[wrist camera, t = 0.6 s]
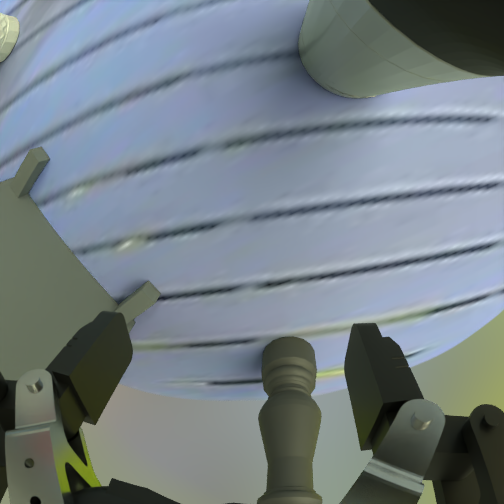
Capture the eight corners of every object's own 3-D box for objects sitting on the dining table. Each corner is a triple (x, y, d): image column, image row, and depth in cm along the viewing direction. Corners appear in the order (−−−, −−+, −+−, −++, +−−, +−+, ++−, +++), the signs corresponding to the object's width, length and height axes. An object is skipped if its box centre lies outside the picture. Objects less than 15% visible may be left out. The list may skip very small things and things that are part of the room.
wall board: (37, 140, 26) (-146, 210, 4) (167, 300, 32) (68, 500, 10) (2, 204, 29) (-132, 289, 7) (112, 338, 36) (27, 487, 14)
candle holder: (270, 376, 36) (257, 570, 13) (256, 342, 34) (231, 564, 11) (318, 367, 35) (333, 566, 12) (309, 331, 33) (326, 562, 10)
